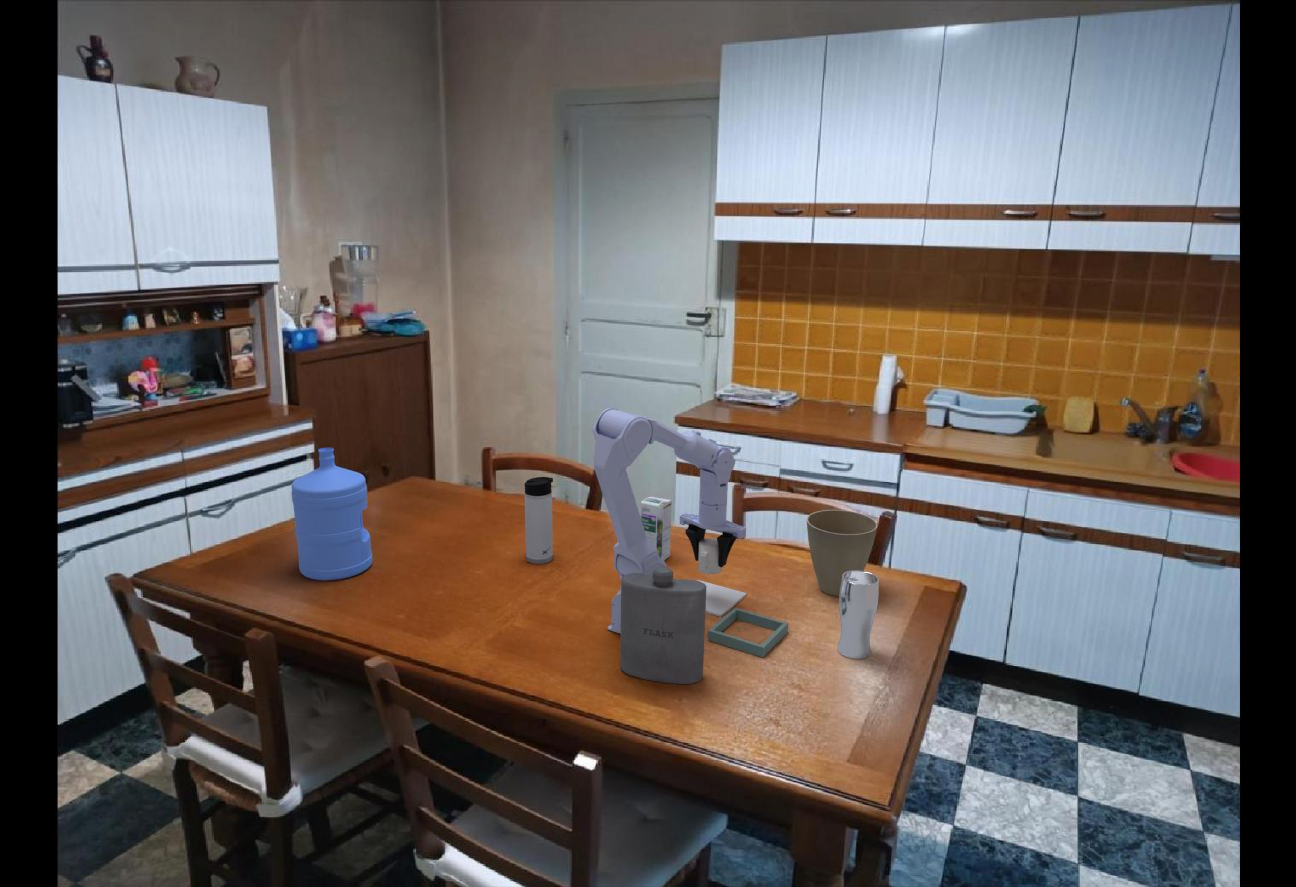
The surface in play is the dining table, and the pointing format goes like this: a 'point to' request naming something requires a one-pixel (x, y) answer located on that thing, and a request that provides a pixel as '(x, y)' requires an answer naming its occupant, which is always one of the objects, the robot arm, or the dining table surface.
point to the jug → (708, 556)
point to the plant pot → (839, 545)
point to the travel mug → (538, 520)
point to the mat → (721, 599)
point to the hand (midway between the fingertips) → (710, 562)
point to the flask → (662, 627)
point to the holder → (745, 645)
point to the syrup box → (657, 523)
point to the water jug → (331, 521)
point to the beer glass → (857, 612)
